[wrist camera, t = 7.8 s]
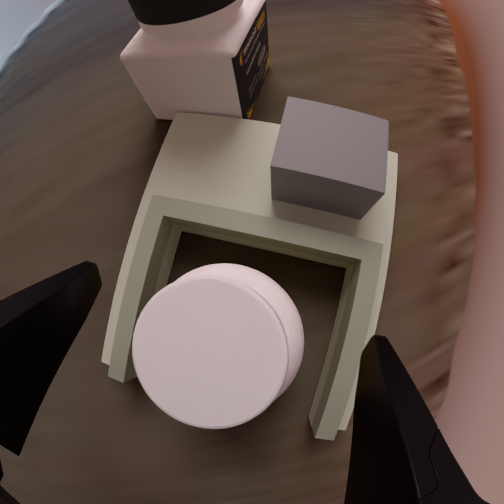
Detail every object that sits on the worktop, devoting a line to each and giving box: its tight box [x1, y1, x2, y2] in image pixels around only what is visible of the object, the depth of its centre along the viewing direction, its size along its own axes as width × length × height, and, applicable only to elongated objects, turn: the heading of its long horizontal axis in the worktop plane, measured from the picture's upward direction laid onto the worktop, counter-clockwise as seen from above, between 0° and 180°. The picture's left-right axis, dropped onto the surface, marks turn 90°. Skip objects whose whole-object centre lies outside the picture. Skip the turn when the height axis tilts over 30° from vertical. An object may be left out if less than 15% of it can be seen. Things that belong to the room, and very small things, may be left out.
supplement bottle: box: [132, 263, 304, 429], centre depth 11 cm, size 5×5×10 cm
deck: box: [101, 97, 398, 440], centre depth 14 cm, size 16×14×6 cm
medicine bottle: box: [120, 0, 269, 120], centre depth 14 cm, size 7×7×12 cm
